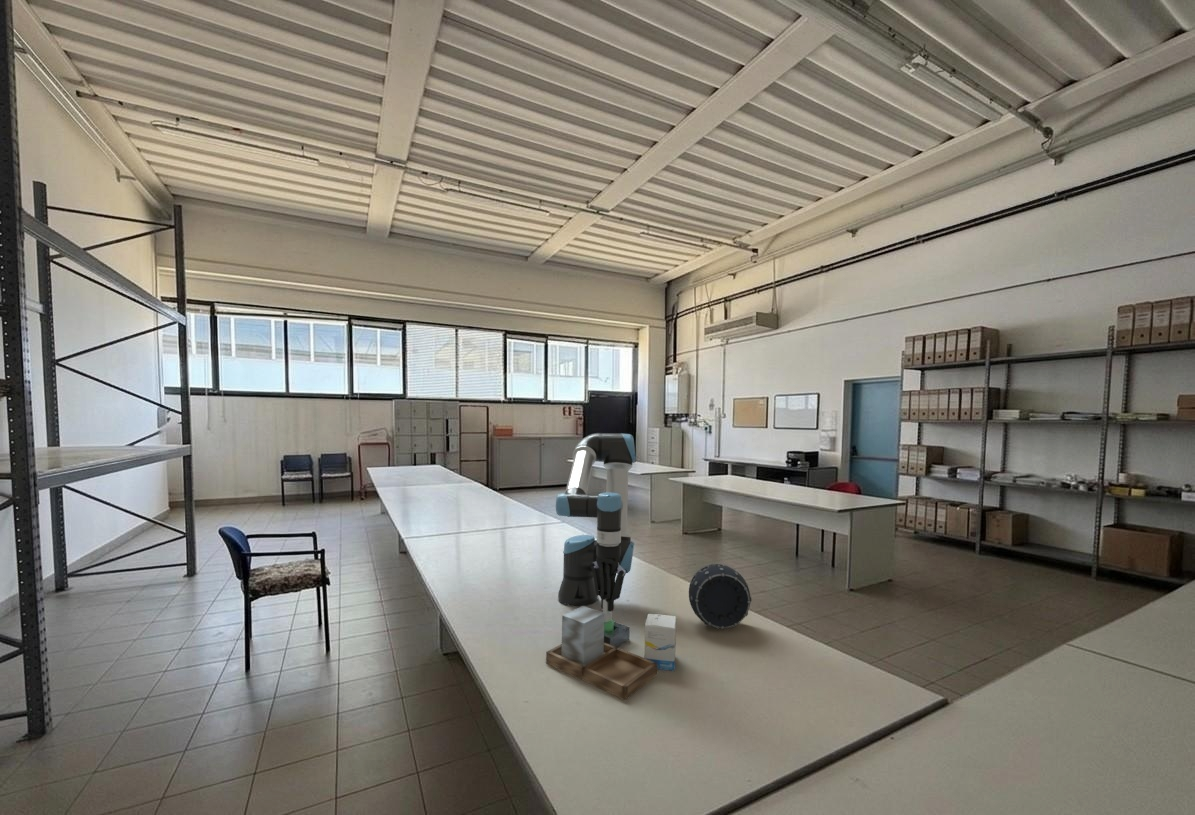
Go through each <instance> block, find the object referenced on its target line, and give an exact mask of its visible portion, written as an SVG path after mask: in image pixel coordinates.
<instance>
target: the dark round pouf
mask: <svg viewBox="0 0 1195 815" xmlns="http://www.w3.org/2000/svg"><path fill="white" fill-rule="evenodd" d="M688 600H689V604H690V606H691V609H692V611H693V612H694V614H695V615H696V616H697V618H698V619H699V620H700V621H702V623H704V626H708V627H712V628H716V629H719V630H724V629H729V628H733V627H737V626H738V625H739V624H740V623H741V622H742V621H743V620H744V619H745V618H746V617H747V616H748V615H749V610H750V606H751V604H752V600H753V599H752V596H751V591H750V588H749V584H748V582H747V581H746V580H745V579H744V577H743V575H742V574H740V573H739V572H738V571H737V570H736V569H734V568H732V567H730V566H729V565H726V564H721V563H714V564H713V563H712V564H708V565H705V566H703V567H701V568H700V569H699V570H697V571H696V573H695V574H694V575H693V576H692V578H691V580H690V583H689V587H688Z"/></svg>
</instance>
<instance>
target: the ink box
mask: <svg viewBox="0 0 1195 815" xmlns="http://www.w3.org/2000/svg"><path fill="white" fill-rule="evenodd" d="M646 616H647V618H646V619H645V624H644V626H645V627H644V657H643V658H645V659H648V660H650V661H653V662H655V663H658V664H657V670H664V671H675V666H676V648H677V646H676V644H677V643H676V642H677V641H676V639H677V638H676V637H677V616H675V615H667V614H660V613H659V614H658V613H655V614H654V613H648V614H647V615H646Z"/></svg>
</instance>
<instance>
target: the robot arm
mask: <svg viewBox="0 0 1195 815" xmlns="http://www.w3.org/2000/svg"><path fill="white" fill-rule="evenodd" d="M635 449H636V448H635V440H634V436H633V435H632V434H630V433H622V432H620V433H616V432H615V433H614V432H613V433H612V432H610V433H608V432H607V433H605V432H604V433H603V432H596V433H591V434H588V435H587V436H585V437H583V438H582V439H580V440H579V442H577V444H576V445H575V447H574V448H573V450H572V451H573V452H572V454H571V455H572V465H571V470H570V473H569V476H568V480H567V484H566V489H565V492H563V493H562V492H561V493H558V494H557V495H556V499H555V513H556V515H557V516H559V517H568V518H570V517H571V518H595V519H596V524H597V525H596V538H595V536H594V535H592V534H590V535H589V534H581V535H574V536H570V537H569V538H567V539H566V540H565V541H564V544H563V552H562V553H563V571H562V572H563V574H562V576H563V577H562V581H561V584H560V587H559V590H558V592H557V594H558V596H557V598H558V599H557V600H558V601H559V602H560V603H561V604H563V605H565V606H566V605H567V606H573V607H581V606H585V607H587V606H590V605H593V604H595V603H596V602H598V600H599V597H600V599H601V600H600V602H601V603H600V604H601V605H600V608H601V609H602V612H603V613H604V622H606V623H607V622H609V621H611V620H613V619H612V618H613V611H614V609H615V601H616V600H618V599H620V597H621V593H622V588H623V584H624V579H625V576H626V575H627V574H629V573H630V571H631V568H632V564H633V563H632V561H633V556H634V555H633V554H634V548H635V542H634V541H632V539H631V538H632V537H631V535H630V534H629V533H628V507H629V506H628V498H629V497H628V496H629V471H630V470H631V469H632V468H633V464H634V463H636V461H637V458H636V450H635ZM596 462H600V463H601V462H603V467H604V469H605V470H606V489H605V492H601V493H599V494H591V493H590V494H589V493H588V491H589V486H590V481H591V474H592V469H593V465H594V464H595V463H596Z"/></svg>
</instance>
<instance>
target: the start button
mask: <svg viewBox="0 0 1195 815" xmlns="http://www.w3.org/2000/svg"><path fill="white" fill-rule="evenodd" d="M614 622H615V621H614V620H613V619H612V620H611V621H609V622H607V623H606V622H604V631H605V632H608V633H609V632H611V631H613V630H614Z"/></svg>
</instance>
